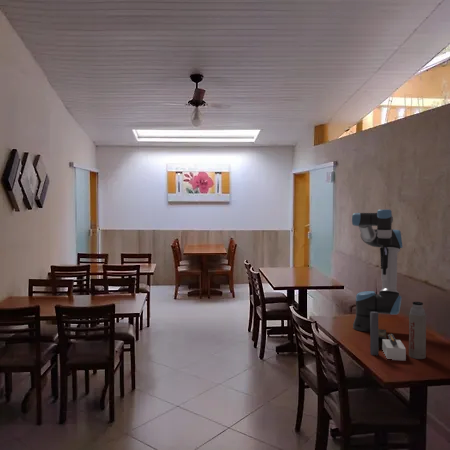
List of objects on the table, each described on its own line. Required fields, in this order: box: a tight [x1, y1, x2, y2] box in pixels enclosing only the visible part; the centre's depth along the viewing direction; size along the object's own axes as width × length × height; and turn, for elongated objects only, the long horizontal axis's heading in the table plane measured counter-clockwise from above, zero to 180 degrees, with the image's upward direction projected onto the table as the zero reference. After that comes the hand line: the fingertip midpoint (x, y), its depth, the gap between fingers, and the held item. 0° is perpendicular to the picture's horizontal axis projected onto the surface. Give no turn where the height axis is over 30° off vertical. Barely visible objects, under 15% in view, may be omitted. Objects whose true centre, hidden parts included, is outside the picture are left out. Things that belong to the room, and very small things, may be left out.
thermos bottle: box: [408, 301, 427, 360], centre depth 230 cm, size 8×8×28 cm
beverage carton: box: [378, 328, 387, 349], centre depth 253 cm, size 8×19×7 cm, turn 160°
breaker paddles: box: [387, 333, 397, 345], centre depth 233 cm, size 10×2×3 cm, turn 169°
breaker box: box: [381, 338, 407, 362], centre depth 233 cm, size 15×9×6 cm, turn 169°
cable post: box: [369, 312, 380, 356], centre depth 234 cm, size 4×4×22 cm
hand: (384, 280), depth 248 cm, fingers closed
